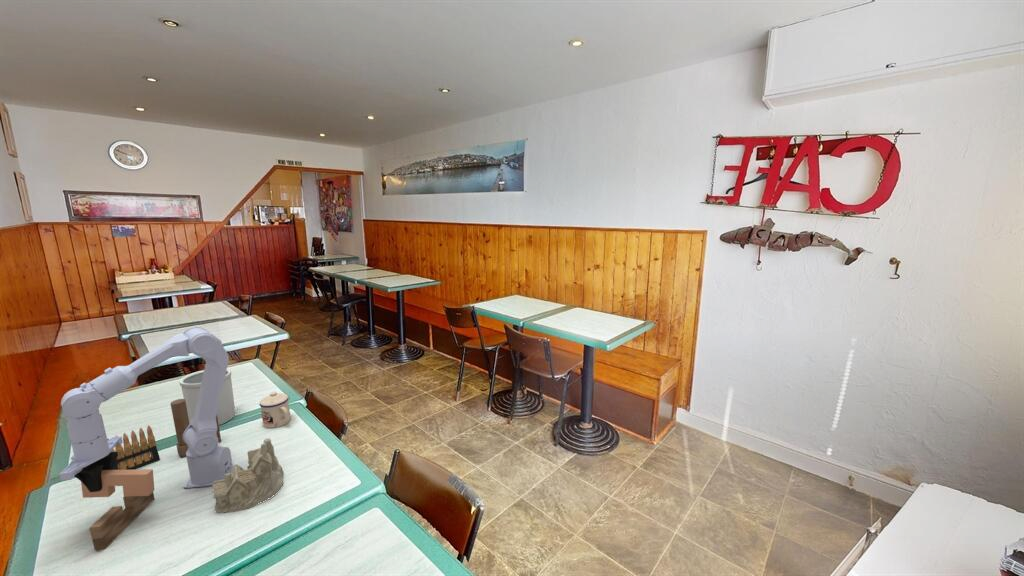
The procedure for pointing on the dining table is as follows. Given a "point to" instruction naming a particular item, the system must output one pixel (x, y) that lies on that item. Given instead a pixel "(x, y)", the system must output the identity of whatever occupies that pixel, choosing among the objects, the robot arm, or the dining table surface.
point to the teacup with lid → (275, 410)
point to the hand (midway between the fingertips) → (100, 487)
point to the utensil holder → (191, 394)
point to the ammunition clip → (136, 451)
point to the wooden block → (183, 424)
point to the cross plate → (124, 483)
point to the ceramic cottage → (249, 481)
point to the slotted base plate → (118, 520)
